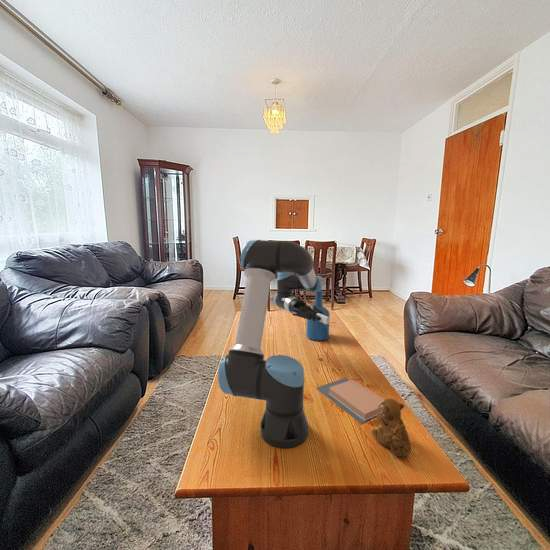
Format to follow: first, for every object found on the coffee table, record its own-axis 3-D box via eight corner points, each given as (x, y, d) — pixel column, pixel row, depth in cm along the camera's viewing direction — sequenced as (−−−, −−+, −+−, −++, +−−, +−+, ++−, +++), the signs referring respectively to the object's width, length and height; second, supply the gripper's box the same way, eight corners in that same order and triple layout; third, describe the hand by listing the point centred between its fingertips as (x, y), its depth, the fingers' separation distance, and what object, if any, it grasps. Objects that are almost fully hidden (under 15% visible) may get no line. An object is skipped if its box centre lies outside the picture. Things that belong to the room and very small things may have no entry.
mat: (315, 388, 115) (315, 387, 115) (345, 378, 123) (345, 377, 123) (360, 424, 95) (360, 423, 95) (393, 409, 103) (393, 408, 103)
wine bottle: (331, 341, 162) (333, 288, 157) (308, 341, 161) (309, 289, 156) (326, 332, 175) (327, 283, 170) (304, 332, 175) (305, 283, 169)
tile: (329, 387, 111) (365, 414, 96) (352, 379, 117) (389, 403, 102) (328, 393, 111) (364, 420, 96) (351, 385, 117) (389, 409, 102)
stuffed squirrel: (401, 429, 93) (404, 391, 91) (421, 465, 79) (426, 422, 77) (369, 428, 93) (372, 390, 91) (384, 464, 79) (388, 421, 77)
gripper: (306, 311, 141) (339, 326, 121) (283, 316, 135) (314, 332, 115) (306, 296, 140) (340, 309, 120) (283, 300, 134) (314, 314, 114)
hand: (327, 320), depth 117 cm, fingers closed
